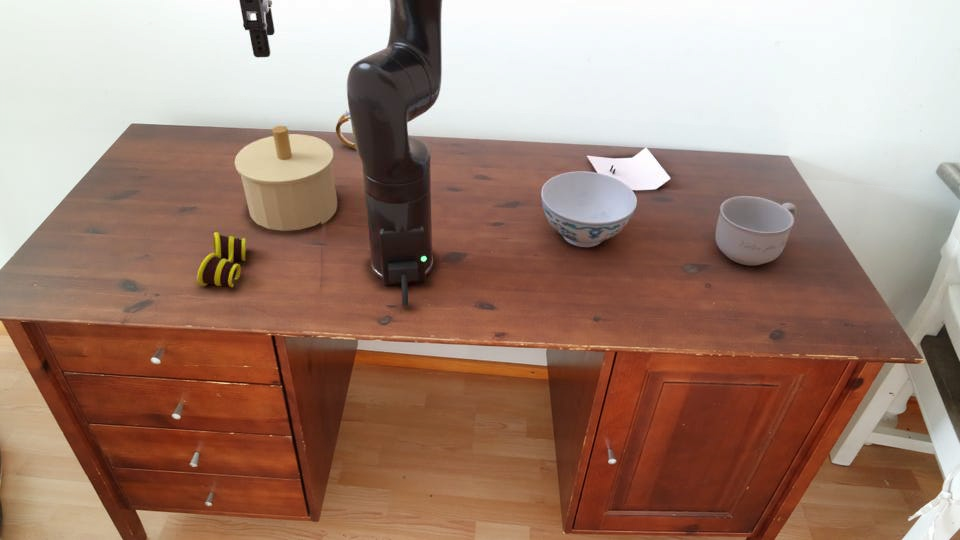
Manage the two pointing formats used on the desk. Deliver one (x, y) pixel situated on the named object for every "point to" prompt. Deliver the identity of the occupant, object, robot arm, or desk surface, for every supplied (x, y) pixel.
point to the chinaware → (587, 206)
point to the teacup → (753, 229)
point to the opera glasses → (222, 261)
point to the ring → (343, 119)
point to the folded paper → (633, 170)
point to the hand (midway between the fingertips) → (265, 45)
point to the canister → (292, 202)
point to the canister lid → (284, 158)
